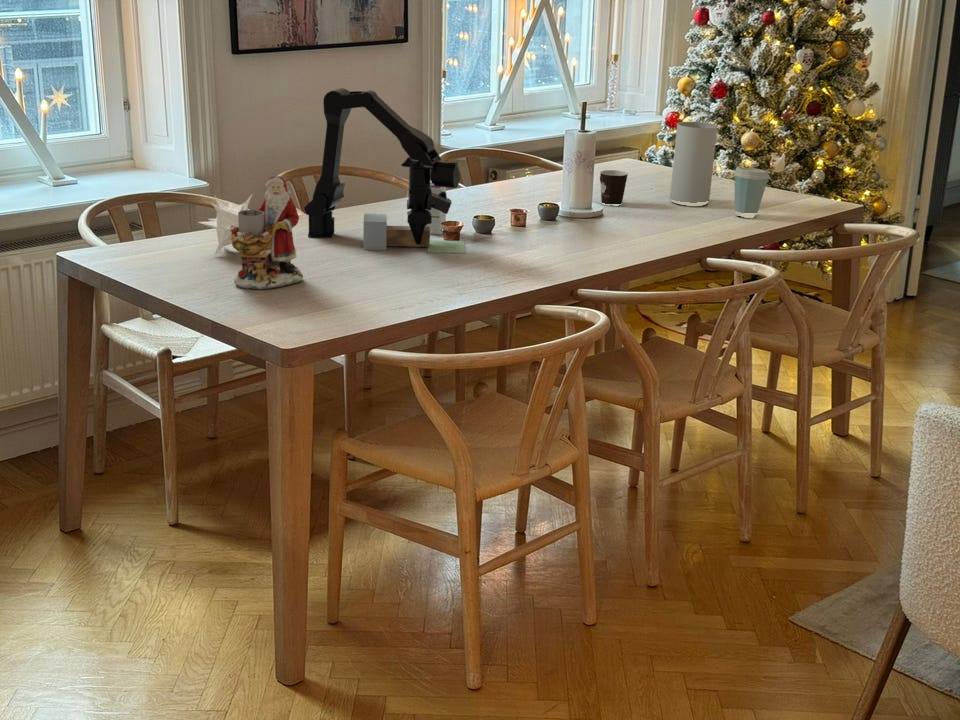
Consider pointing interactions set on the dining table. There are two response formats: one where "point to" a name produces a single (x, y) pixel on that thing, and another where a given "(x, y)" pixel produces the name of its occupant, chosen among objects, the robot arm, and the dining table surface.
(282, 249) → the santa figurine
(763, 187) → the disposable coffee cup
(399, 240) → the walnut block
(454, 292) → the dining table surface
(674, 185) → the cylinder vase
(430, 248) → the green mat
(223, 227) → the star ornament
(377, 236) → the upright grey block
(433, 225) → the syrup box
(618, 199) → the coffee mug
